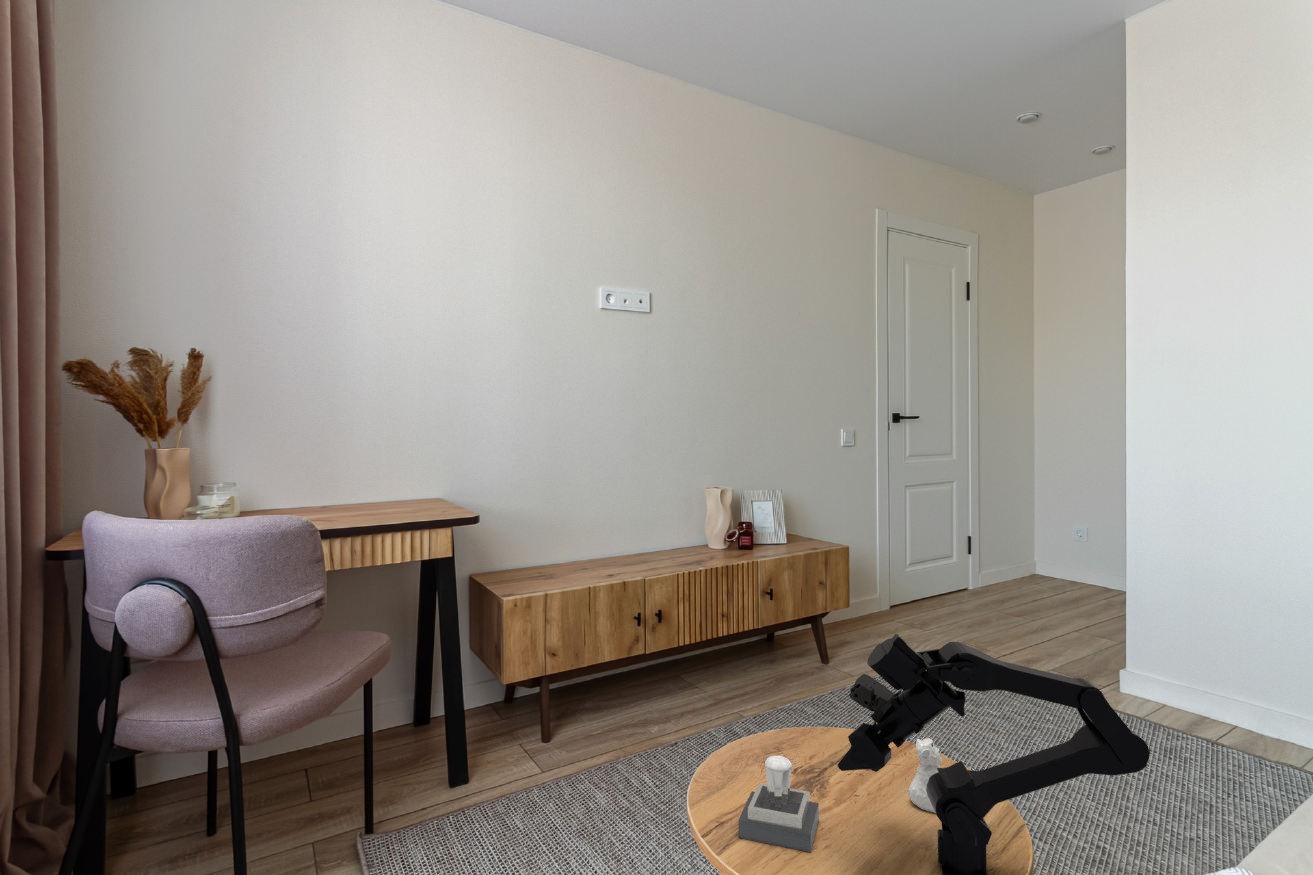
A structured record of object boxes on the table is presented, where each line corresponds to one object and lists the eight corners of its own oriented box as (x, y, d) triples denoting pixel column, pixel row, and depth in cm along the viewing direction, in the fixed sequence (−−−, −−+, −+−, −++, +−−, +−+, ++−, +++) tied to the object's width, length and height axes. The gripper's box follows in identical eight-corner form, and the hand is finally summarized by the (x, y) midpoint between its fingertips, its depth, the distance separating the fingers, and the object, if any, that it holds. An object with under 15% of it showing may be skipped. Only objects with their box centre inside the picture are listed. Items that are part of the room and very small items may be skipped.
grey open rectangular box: (818, 820, 121) (818, 791, 121) (810, 852, 112) (810, 821, 112) (751, 807, 125) (751, 780, 125) (738, 837, 116) (738, 808, 116)
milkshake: (796, 820, 116) (796, 760, 116) (764, 816, 117) (764, 757, 117) (796, 805, 120) (796, 748, 120) (766, 802, 121) (765, 746, 121)
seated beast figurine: (966, 821, 121) (966, 753, 121) (916, 819, 121) (915, 751, 121) (949, 793, 130) (948, 730, 130) (902, 791, 131) (901, 728, 131)
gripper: (897, 649, 120) (837, 698, 127) (861, 680, 105) (794, 734, 112) (945, 704, 116) (880, 752, 122) (914, 745, 100) (841, 797, 107)
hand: (849, 757), depth 116 cm, fingers open, 9 cm apart
